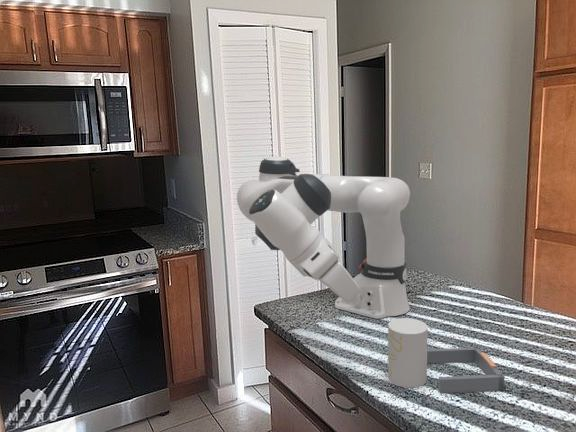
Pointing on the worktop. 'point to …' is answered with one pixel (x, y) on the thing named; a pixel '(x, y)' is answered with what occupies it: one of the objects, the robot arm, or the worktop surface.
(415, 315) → the worktop surface
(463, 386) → the bracket
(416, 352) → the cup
